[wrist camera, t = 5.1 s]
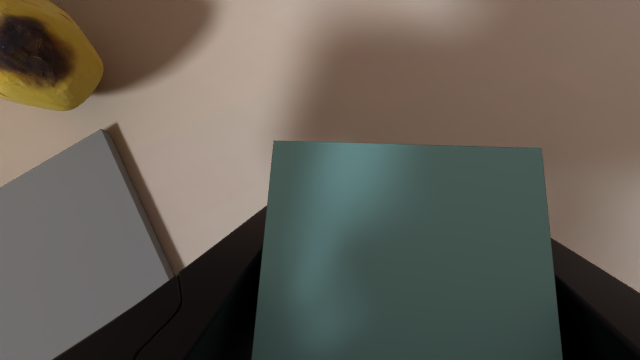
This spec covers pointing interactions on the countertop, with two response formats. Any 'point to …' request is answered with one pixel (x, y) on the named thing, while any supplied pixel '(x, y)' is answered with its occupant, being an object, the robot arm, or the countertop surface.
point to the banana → (45, 56)
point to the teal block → (406, 254)
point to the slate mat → (72, 250)
